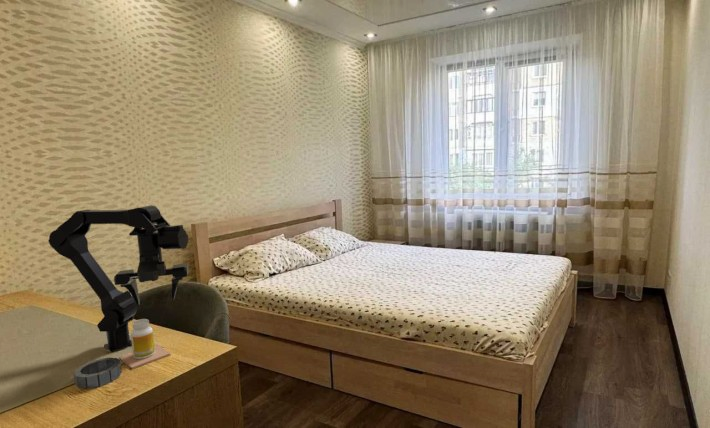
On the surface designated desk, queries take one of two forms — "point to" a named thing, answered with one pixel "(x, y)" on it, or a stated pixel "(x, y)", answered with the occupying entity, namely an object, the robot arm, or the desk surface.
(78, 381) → the grey segmented ring
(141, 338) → the supplement bottle
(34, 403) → the desk surface
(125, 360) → the terracotta pad
